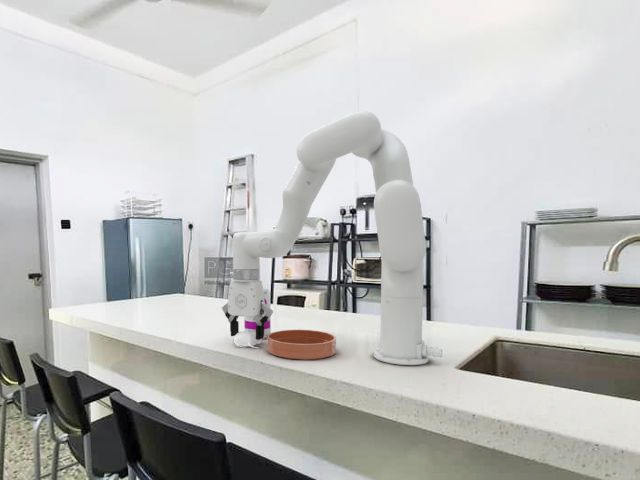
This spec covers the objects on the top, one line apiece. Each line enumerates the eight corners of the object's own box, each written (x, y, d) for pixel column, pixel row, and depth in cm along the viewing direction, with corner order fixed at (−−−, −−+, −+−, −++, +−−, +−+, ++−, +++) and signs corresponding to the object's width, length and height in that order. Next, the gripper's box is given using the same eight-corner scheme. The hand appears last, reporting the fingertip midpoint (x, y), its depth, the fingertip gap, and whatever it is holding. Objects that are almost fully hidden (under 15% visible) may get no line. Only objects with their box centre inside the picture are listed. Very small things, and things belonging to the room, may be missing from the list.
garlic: (263, 342, 115) (263, 330, 115) (260, 348, 108) (260, 335, 108) (236, 341, 116) (236, 328, 116) (231, 347, 110) (232, 333, 109)
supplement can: (268, 340, 118) (268, 290, 117) (242, 339, 120) (241, 290, 119) (272, 334, 126) (271, 288, 125) (247, 333, 128) (246, 288, 127)
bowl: (345, 348, 108) (345, 333, 108) (320, 364, 93) (320, 347, 92) (286, 340, 118) (286, 327, 118) (254, 354, 103) (254, 339, 102)
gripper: (213, 275, 113) (214, 336, 114) (266, 277, 103) (267, 343, 104) (228, 274, 119) (229, 331, 120) (279, 275, 110) (280, 338, 111)
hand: (246, 336), depth 112 cm, fingers closed on garlic, 7 cm apart
